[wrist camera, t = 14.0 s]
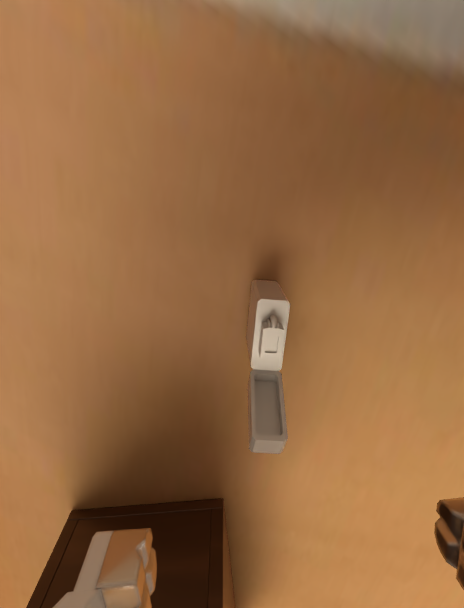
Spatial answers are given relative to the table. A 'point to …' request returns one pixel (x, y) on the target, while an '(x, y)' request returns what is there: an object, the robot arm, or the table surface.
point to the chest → (167, 543)
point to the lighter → (266, 366)
